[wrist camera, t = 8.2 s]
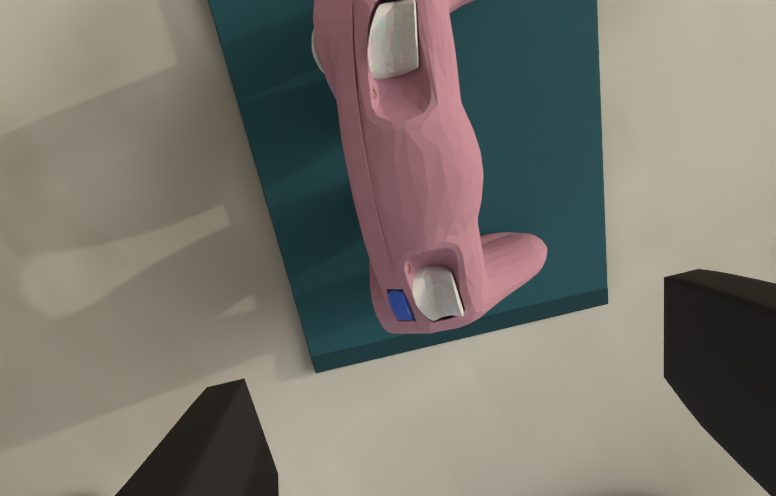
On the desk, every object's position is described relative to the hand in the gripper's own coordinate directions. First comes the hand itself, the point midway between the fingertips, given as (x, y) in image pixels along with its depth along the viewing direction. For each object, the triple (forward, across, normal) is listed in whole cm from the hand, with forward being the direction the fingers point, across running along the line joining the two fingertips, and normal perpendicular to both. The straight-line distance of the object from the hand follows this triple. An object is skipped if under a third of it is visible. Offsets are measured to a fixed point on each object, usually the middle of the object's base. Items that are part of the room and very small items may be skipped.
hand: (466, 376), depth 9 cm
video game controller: (+9, -2, -2) cm, 10 cm away
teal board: (+9, -2, -2) cm, 10 cm away
